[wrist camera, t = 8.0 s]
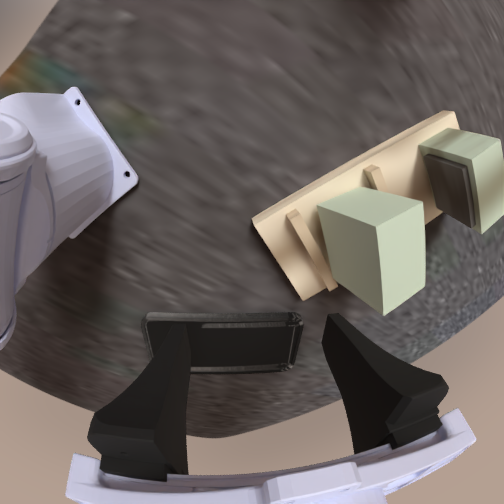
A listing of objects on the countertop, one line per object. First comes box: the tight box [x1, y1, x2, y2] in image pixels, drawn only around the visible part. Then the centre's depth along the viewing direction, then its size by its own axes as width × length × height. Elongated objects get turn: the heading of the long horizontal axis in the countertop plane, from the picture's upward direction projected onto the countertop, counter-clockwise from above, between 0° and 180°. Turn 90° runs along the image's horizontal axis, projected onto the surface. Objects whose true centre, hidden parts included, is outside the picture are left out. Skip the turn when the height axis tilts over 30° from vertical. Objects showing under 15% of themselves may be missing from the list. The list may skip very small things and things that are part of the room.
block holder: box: [252, 111, 504, 301], centre depth 18 cm, size 8×20×8 cm, turn 121°
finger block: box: [316, 187, 425, 316], centre depth 17 cm, size 5×6×6 cm
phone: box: [141, 312, 303, 374], centre depth 26 cm, size 8×1×15 cm
